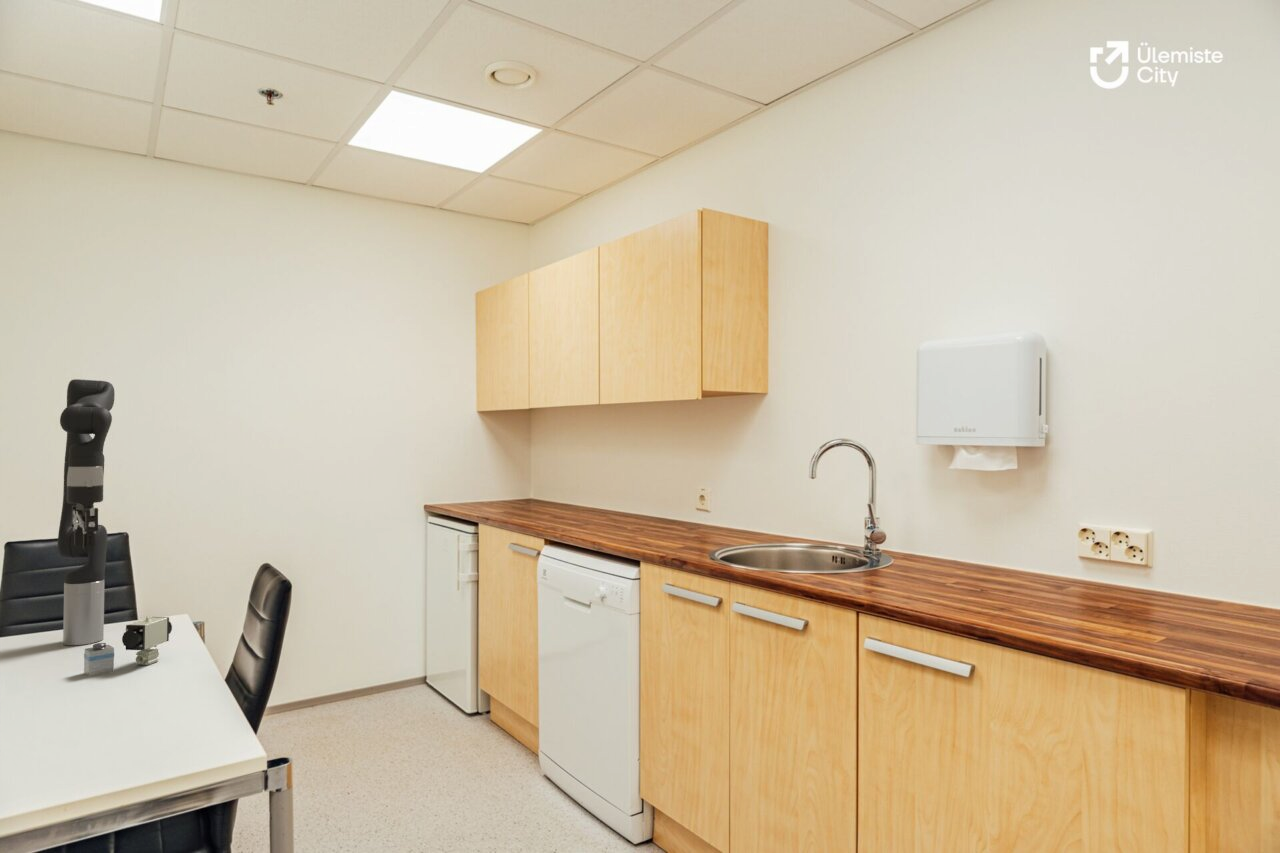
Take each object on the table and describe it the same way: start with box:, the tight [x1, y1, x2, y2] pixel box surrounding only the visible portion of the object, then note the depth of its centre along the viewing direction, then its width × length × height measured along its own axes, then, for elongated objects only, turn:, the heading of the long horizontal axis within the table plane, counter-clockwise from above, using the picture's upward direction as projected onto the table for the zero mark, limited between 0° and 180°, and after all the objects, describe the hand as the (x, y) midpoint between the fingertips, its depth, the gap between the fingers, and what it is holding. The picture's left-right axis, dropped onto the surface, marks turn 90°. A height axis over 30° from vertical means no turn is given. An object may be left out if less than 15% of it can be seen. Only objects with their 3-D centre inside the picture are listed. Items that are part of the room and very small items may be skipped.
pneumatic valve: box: [121, 616, 173, 666], centre depth 190 cm, size 6×12×12 cm, turn 174°
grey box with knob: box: [83, 642, 115, 678], centre depth 182 cm, size 5×5×7 cm
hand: (84, 547), depth 189 cm, fingers open, 8 cm apart
